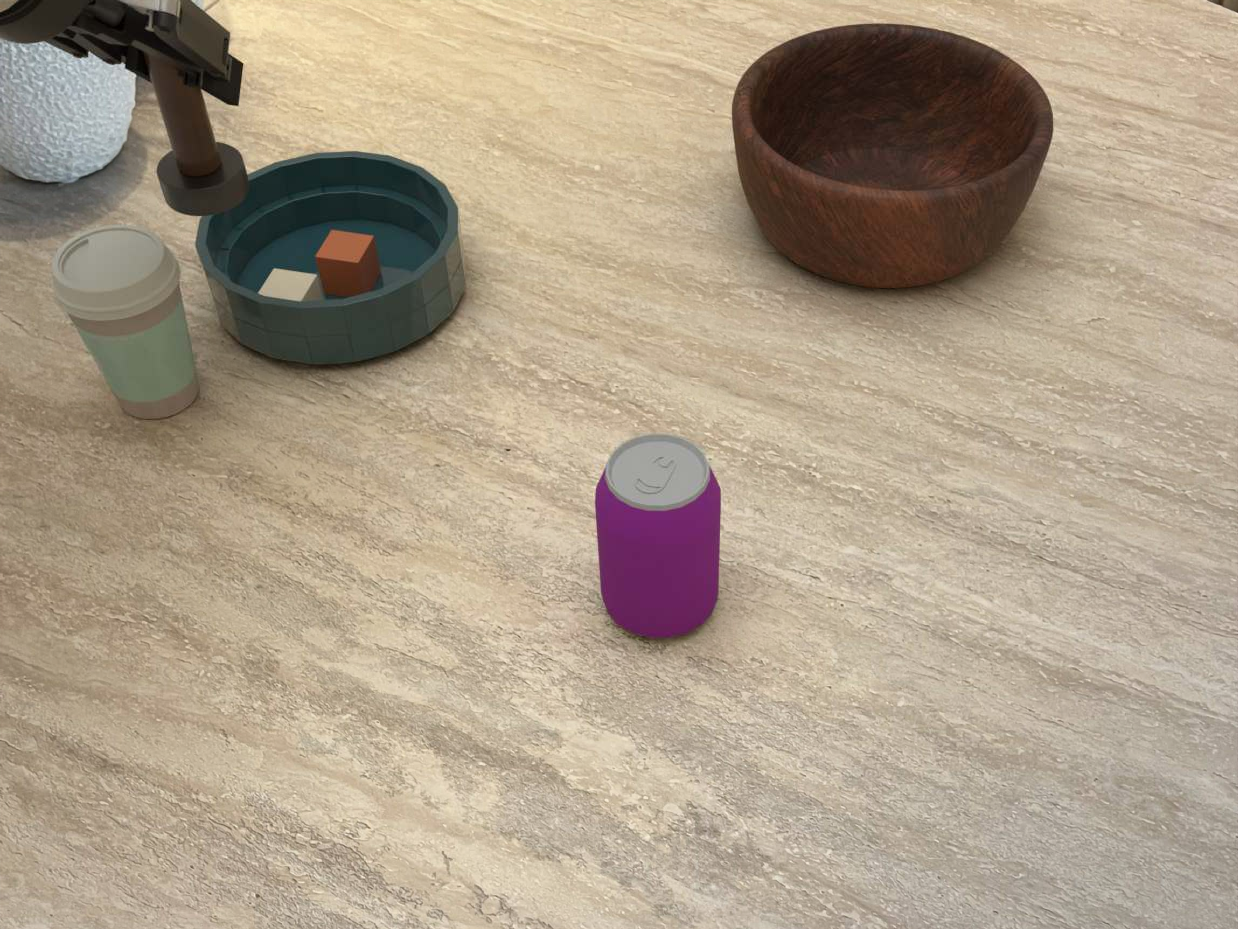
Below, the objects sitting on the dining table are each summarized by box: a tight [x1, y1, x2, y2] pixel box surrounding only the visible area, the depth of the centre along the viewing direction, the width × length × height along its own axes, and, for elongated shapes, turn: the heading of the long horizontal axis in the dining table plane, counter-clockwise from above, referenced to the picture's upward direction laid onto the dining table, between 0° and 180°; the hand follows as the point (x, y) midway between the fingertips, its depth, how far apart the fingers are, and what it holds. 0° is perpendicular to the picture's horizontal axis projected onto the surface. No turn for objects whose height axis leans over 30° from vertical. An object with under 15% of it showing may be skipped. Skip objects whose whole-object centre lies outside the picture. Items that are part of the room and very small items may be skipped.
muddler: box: [142, 51, 250, 217], centre depth 91 cm, size 6×6×17 cm
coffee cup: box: [50, 224, 200, 420], centre depth 103 cm, size 9×8×12 cm
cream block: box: [258, 268, 323, 301], centre depth 111 cm, size 4×4×4 cm
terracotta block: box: [315, 230, 381, 297], centre depth 113 cm, size 4×4×4 cm
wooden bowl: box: [731, 22, 1054, 289], centre depth 118 cm, size 25×25×10 cm
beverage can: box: [594, 432, 722, 639], centre depth 91 cm, size 8×8×12 cm
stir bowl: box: [194, 150, 467, 365], centre depth 113 cm, size 20×20×6 cm
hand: (210, 80), depth 95 cm, fingers closed on muddler, 3 cm apart
